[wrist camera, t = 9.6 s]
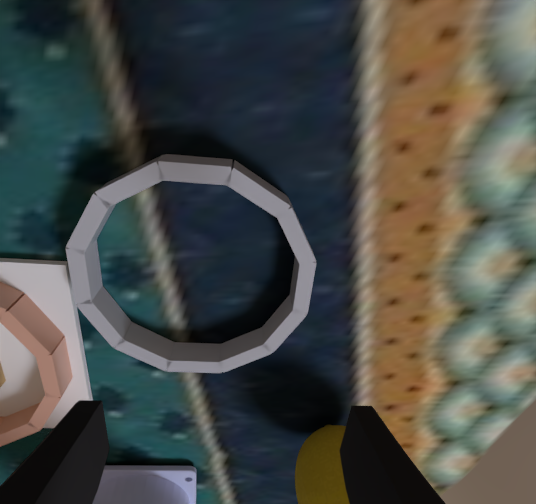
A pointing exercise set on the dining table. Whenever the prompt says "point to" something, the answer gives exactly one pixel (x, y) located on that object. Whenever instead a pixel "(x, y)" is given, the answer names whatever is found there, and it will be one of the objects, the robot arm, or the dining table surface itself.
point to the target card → (21, 359)
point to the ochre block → (1, 376)
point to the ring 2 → (149, 343)
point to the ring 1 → (47, 355)
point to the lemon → (321, 468)
